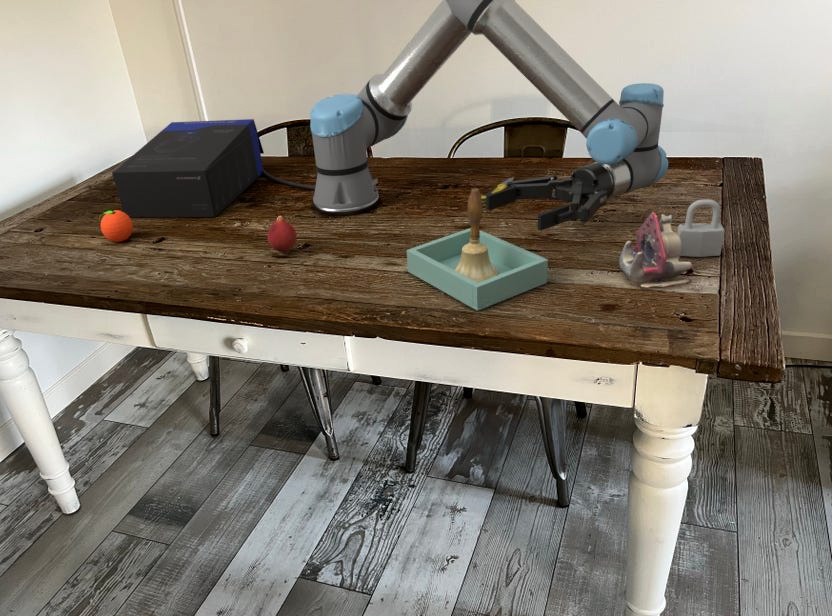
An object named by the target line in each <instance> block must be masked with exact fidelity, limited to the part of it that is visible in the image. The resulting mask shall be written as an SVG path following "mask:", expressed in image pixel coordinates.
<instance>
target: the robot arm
mask: <svg viewBox="0 0 832 616" xmlns="http://www.w3.org/2000/svg"><path fill="white" fill-rule="evenodd" d="M471 34H473V35H474V36H481V35H482V36H484V38H486V40H488V41H489V43H490V44H492V45H493V47H494V48H496V50H498V51H499V52H500V53H501V54H502V55H503V57H505V59H507V61H509V62H510V64H511V65H512V66H514V67H515V69H517V70H518V72H520V74H522V75H523V76H524V77H525V78H526V80H527V81H528V82H530V84H531V85H532V86H534V87H535V89H537V91H539V92H540V94H542V95H543V96H544V97H545V99H546V100H548V101H549V102H550V103H551V105H552V106H554V107H555V109H556V110H557V111H558V112H560V113H561V114H562V116H564V117H565V118H566V120H567V121H568V122H570V123H571V125H572V126H574V127H575V128H576V130H578V132H580V133H581V134H582V135H583V137H584V138H585V139H586V140H585V141H586V143H585V144H586V145H585V146H586V149H587V152H588V155H589V157H590V158H591V159H592V160H593V161H594V162H593V163H589V164H586V165H583V166H579V167H578V168H577V169H575V170H574V172H573V173H572V174H571V176H570V177H565V178H563V179H558V175H557V174H552V175H547V176H543V177H535V178H527V179H519V180H518V179H517V180H513V181H509V182H507V189H504V190H501V191H498V192H495V193H492V194H489V195H486V202H485V207H486V208H485V210H486V211H491V210H494V209H497V208H500V207H504V206H506V205H509V204H514V203H516V202H517V200H521V199H548V200H549V201H560V200H561V201H564V202H566V203H570V204H569V205H568V204H563V205H561V206H558V207H556V208H552V209H549V210H548V211H544V212H541V213H538V214H537V231H544V230H547V229H549V228H552V227H554V226H555V227H556V226H557V225H561V224H563V223H567V222H569V221H572V222H575V221H578V220H580V222H581V223H583V224H586V223H588V222H589V221H590V220H591V218H593V216H594V215H595V214H596V213H597V212H598V211H599V209H600V208H602V207H605V206H606V205H607V202H608V201H611V200H612V199H614V198H617V197H619V196H622V195H626V194H628V193H631V192H633V191H637V190H639V189H645V188H647V187H649V186H651V185H653V184H655V183H657V182H659V181H660V180H661V179H662V178H664V176H665V175H666V174H667V171H668V169H669V160H668V158H667V153H666V151H665V150H664V149H663V147H661V146H660V145H659V139H660V132H661V124H662V117H663V116H662V115H663V108H664V107H665V104H664V94H665V93H664V92H665V91H664V88H663V86H661V85H659V84H657V83H647V82H646V83H645V82H642V83H641V82H640V83H633V84H628V85H626V86H624V87H623V88H622V90H621V92H620V98H619V101H618V102H616V101H615V99H613V97H612V96H611V95H610V94H609V93H608V92H607V91H606V90H605V89H604V88H603V87H602V86H601V85H600V84H599V83H598V82H597V81H596V80H595V79H594V78H593V77H591V75H590V74H589V73H588V72H587V71H586V70H585V69H584V68H583V67H582V66H581V65H580V64H579V63H578V62H577V61H575V59H574V58H573V57H572V56H571V55H570V54H569V53H568V52H567V51H566V50H565V49H564V48H563V47H562V46H561V45H560V44H559V43H558V42H557V41H556V40H555V39H553V37H551V35H549V34H548V33H547V31H546V30H545V29H544V28H543V27H542V26H541V25H540V24H539V23H538V22H537V21H536V20H534V19H533V17H532V16H530V14H529V13H528V12H527V11H526V10H525V9H524V8H523V7H521V5H520V4H519V3H518V2H517V1H516V0H441V2H440V3H439V4H438V5H437V6H436V8H435V9H434V10H433V11H432V12H431V14H430V15H429V16H428V18H427V19H426V20H425V21H424V22H423V24H422V25H421V26H420V28H419V29H418V30H417V32H416V33H415V34H414V35H413V36H412V38H411V39H410V40H409V41H408V42H407V44H406V45H405V46H404V48H403V49H402V50H401V51H400V53H399V54H398V55H397V56H396V57H395V58H394V60H393V61H392V62H391V64H390V65H389V66H388V67H387V68H386V70H385V71H384V72H383V73H376V74H374V75H373V76H371V78H369V80H368V81H367V83H366V84H365V85H364V86H363V88H362V89H361V90H360V92H358V93H357V94H354V93H341V94H334V95H333V96H327V97H325V98H322V99H321V100H318V101H317V102H316V103H314V104H313V106H312V107H311V108H310V113H309V115H310V116H309V118H310V124H309V127H310V131H311V137H312V138H311V139H312V144H313V151H314V159H315V166H316V167H315V168H316V174H317V175H316V181H315V185H311V184H303V183H297V182H292V181H289V180H285V179H281V178H278V177H276V176H273V175H271V174H270V173H268V172H267V171H266V170H265V169H264V168H263V170H262V173H263V174H262V175H264V176H265V177H266V178H268V179H270V180H272V181H274V182H277V183H280V184H283V185H287V186H291V187H296V188H302V189H307V190H314V194H313V197H312V200H313V201H312V205H313V209H314V211H315V212H317V213H319V214H322V215H325V216H336V217H337V216H351V215H356V214H360V213H364V212H366V211H369V210H371V209H373V208H374V207H376V206H377V205H378V204H379V202H380V197H379V195H380V194H379V191H378V188H377V186H376V185H377V184H379V179H378V177H376V178H375V179H373V177H372V174H371V172H370V170H369V164H368V151H367V150H368V149H370V148H372V147H373V146H375V145H377V144H379V143H380V142H383V141H384V140H388V139H390V138H391V137H394V136H395V135H397V134H398V133H399V132H400V131H401V130H402V129H403V128H404V126H405V125H406V123H407V120H408V117H409V115H410V114H411V112H412V109H413V102H412V101H413V100H414V99H415V98H416V97H417V96H418V94H419V93H420V92H421V91H422V90H423V89H424V88H425V87H426V85H427V84H428V83H429V82H430V80H432V78H433V77H434V76H435V75H436V74H437V73H438V72H439V70H440V69H441V68H442V67H443V66H444V65H445V63H447V61H448V60H449V59H450V58H451V57H452V55H453V54H455V52H456V51H457V50H458V49H459V48H460V47H461V45H463V43H464V42H465V41H466V40H467V39H468V38H469V37H470V35H471ZM553 191H554V194H553Z"/></svg>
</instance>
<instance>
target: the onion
mask: <svg viewBox="0 0 832 616" xmlns="http://www.w3.org/2000/svg"><path fill="white" fill-rule="evenodd" d="M297 236H298V235H297V231H296V229H295V227H294V226H293V225H292V224H291V223H290V222H288V221H287V220H284V216H282V215H279V216H277V218H276V220H275V221H273V223H271V225H270V227H269V228H268V231H267V241H268V242H267V243H268V244H269V246H270V247H271V248H272V249H273V250H275V251H277V252H279V253H282V254H286V255H287V254H288V253H289V252H290V251H291V249H292V248H294V246H295V244H296V243H297V240H298V237H297Z"/></svg>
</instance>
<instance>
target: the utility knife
mask: <svg viewBox="0 0 832 616" xmlns="http://www.w3.org/2000/svg"><path fill="white" fill-rule="evenodd" d="M514 179H515V176H512V177H510V178H507V179H506V180H504V181H502V182H501V183H499V184H497V185H496V186H495V187H494V188H492V189H491V190H489V191H487V192H486V193H485V194H482V195H481V198H482V203H486V195H489V194H492V193H495V192H498V191H501V190H504V189H507V182H509V181H514Z"/></svg>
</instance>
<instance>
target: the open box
mask: <svg viewBox="0 0 832 616" xmlns="http://www.w3.org/2000/svg"><path fill="white" fill-rule="evenodd" d="M470 230H471V227H469V228H466V229H463V230H461V231H458V232H454V233H452V234H448V235H446V236H443V237H440V238H437V239H434V240H432V241H429V242H426V243H423V244H420V245H417V246H414V247H412V248H408V249H406V261H407V272H408V273H410V274H411V275H413V276H414V277H417V278H418V279H421V280H422V281H424V282H425V283H427V284H429V285H430V286H432V287H434V288H436V289H437V290H440V291H441V292H443V293H445V294H446V295H449V296H450V297H452V298H453V299H456V300H458V301H459V302H460V303H462V304H465V305H466V306H468V307H470V308H472V309H473V310H476V311H477V312H478V311H481V310H483V309H486V308H488V307H491V306H493V305H495V304H498V303H500V302H503V301H506V300H509V299H511V298H513V297H515V296H518V295H519V294H523V293H525V292H527V291H530V290H532V289H534V288H537V287H540V286H543V285H545V284H548V270H549V269H548V268H549V259H547V258H546V257H543V256H541V255H538V254H536V253H533V252H532V251H529V250H527V249H524V248H522V247H520V246H518V245H516V244H513V243H510V242H509V241H506V240H504V239H502V238H499V237H497V236H494V235H492V234H490V233H488V232H485V231H483V230H481V229H480V234H479V235H480V238H479V239H480V243H482V244H485V245H486V246H487V248H488V255H489V259H490V262H491V264H492V265H493V266H494V267H495V268H496V269H497V270H498V273H499V275H497V276H494V277H492V278H489V279H487V280H484V281H481V282H479V283H478V282H476V281H474V280H472V279H470V278H468V277H466V276H464V275H462V274H460V273H459V272H457V271H455V270H454V269H455V268H456V267H457V266H458V265H459V263H460V260H461V255H462V248H463V246H464V245H466V244H468V243H470Z"/></svg>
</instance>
